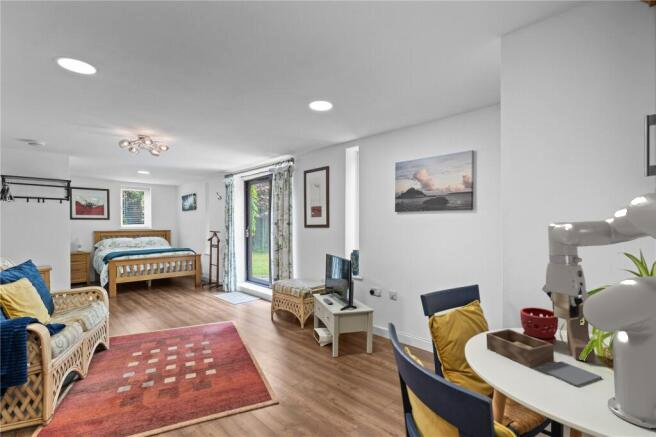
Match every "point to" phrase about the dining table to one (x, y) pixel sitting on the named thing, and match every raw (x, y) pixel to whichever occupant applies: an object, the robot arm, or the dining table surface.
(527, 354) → the walnut box
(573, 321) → the decorative block
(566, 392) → the dining table surface
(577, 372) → the mat
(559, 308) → the maple block
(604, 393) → the dining table surface
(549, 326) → the plant pot
